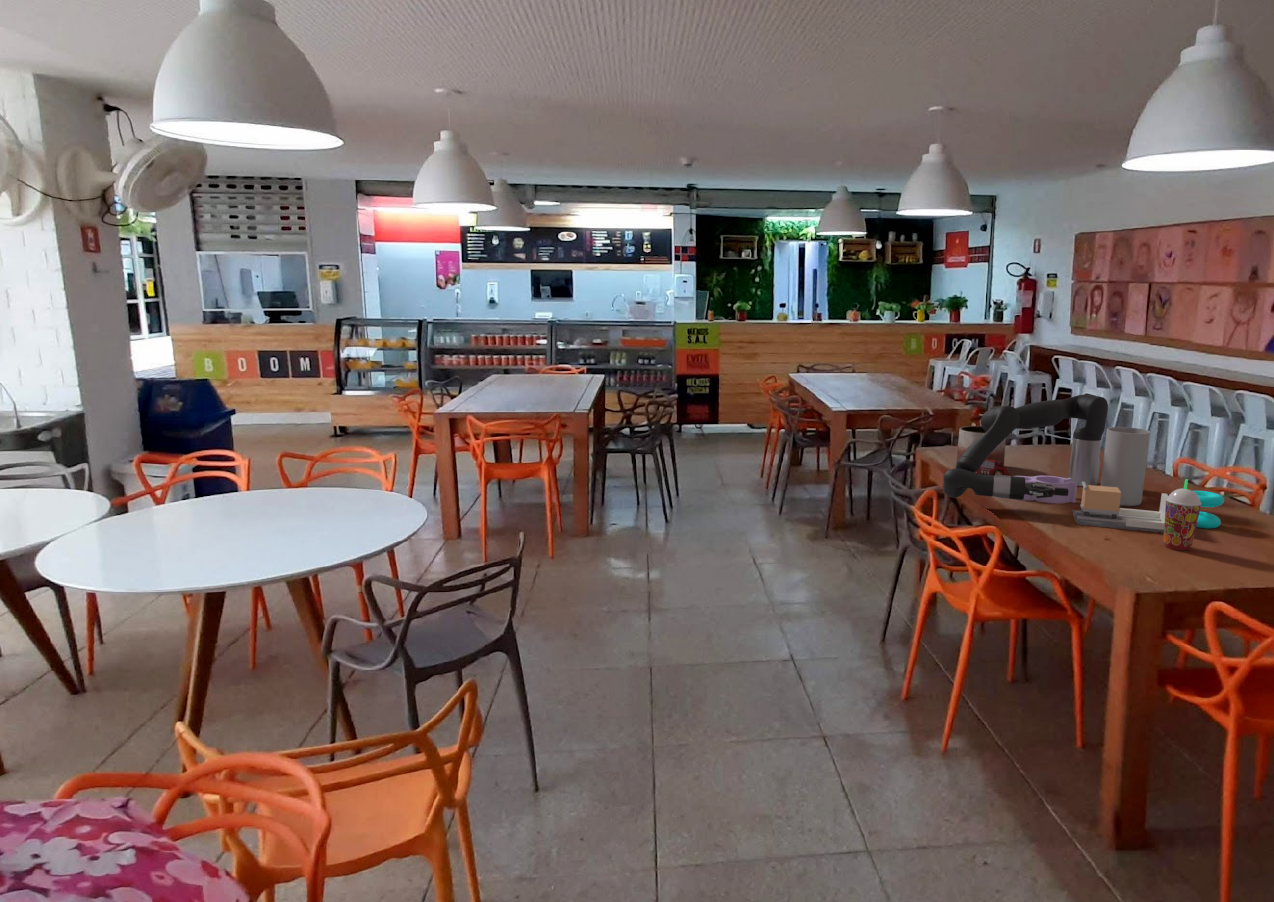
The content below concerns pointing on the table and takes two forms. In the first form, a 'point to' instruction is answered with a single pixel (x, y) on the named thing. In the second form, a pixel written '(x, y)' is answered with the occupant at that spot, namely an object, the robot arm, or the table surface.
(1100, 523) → the dock
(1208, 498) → the donuts
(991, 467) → the toy fire truck
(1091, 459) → the robot arm
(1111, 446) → the cylinder vase
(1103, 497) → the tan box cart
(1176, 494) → the smoothie
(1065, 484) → the clip
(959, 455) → the planter
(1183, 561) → the table surface
